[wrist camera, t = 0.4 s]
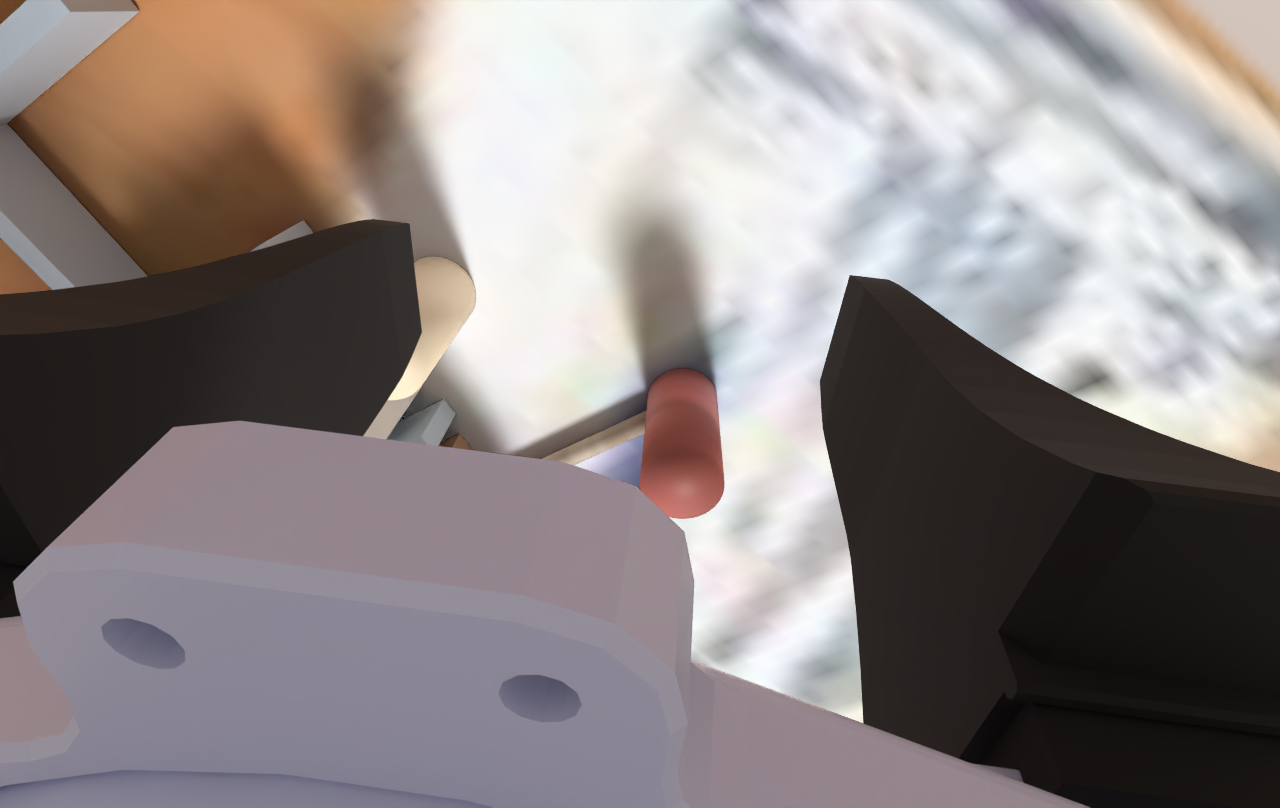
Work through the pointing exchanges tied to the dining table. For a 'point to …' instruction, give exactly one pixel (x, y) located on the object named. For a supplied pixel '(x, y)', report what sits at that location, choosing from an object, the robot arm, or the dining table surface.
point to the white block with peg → (429, 332)
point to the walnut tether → (665, 444)
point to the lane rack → (45, 209)
